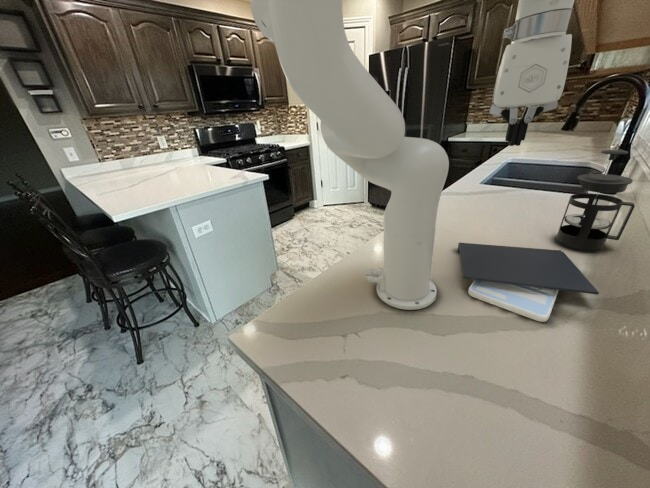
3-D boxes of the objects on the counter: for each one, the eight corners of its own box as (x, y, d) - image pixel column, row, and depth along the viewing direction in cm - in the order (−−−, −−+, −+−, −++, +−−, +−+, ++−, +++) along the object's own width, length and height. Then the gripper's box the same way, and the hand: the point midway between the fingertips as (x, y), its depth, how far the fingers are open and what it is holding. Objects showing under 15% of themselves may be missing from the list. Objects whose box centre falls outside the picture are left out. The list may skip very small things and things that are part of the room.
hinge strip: (457, 252, 69) (458, 244, 68) (457, 250, 70) (458, 242, 69) (559, 261, 61) (562, 252, 60) (557, 259, 62) (561, 250, 61)
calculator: (564, 273, 57) (567, 266, 56) (546, 325, 45) (549, 317, 44) (495, 255, 66) (497, 249, 65) (465, 295, 54) (466, 288, 53)
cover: (463, 278, 55) (463, 276, 54) (458, 245, 68) (459, 243, 68) (598, 295, 47) (599, 292, 46) (562, 253, 60) (563, 251, 60)
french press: (548, 245, 67) (580, 153, 57) (553, 232, 73) (582, 146, 63) (613, 258, 60) (664, 155, 49) (612, 242, 66) (657, 147, 55)
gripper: (491, 36, 44) (473, 149, 52) (608, 15, 38) (567, 145, 47) (485, 43, 50) (470, 144, 58) (585, 25, 44) (553, 140, 53)
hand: (513, 144), depth 53 cm, fingers closed
